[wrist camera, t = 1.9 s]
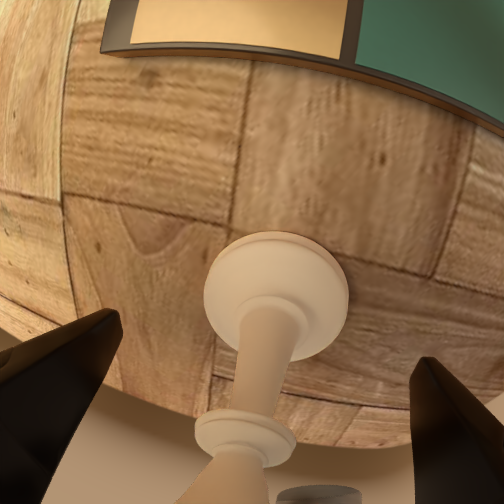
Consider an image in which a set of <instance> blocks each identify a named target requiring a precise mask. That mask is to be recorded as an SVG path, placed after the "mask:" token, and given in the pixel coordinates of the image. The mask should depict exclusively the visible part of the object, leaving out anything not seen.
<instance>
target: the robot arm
mask: <svg viewBox="0 0 504 504" xmlns="http://www.w3.org/2000/svg"><path fill="white" fill-rule="evenodd" d="M122 337H123V329H122V324H121V320H120V315H119V312H118V311H116V310H114V309H110V308H104V309H102V310H99V311H97V312H95V313H92V314H90V315H87V316H85V317H83V318H80V319H78V320H75V321H73V322H71V323H68V324H66V325H63V326H61V327H59V328H56V329H54V330H52V331H49V332H47V333H44V334H42V335H40V336H37V337H35V338H32V339H30V340H28V341H25V342H23V343H21V344H18V345H16V346H14V347H11V348H9V349H6V350H4V351H1V352H0V504H41V502H42V500H43V497H44V495H45V493H46V491H47V488H48V486H49V484H50V482H51V480H52V477H53V475H54V473H55V471H56V469H57V467H58V465H59V463H60V461H61V459H62V457H63V455H64V453H65V451H66V449H67V447H68V445H69V443H70V441H71V439H72V437H73V435H74V433H75V431H76V430H77V428H78V426H79V424H80V422H81V420H82V418H83V416H84V414H85V412H86V411H87V409H88V407H89V405H90V403H91V402H92V400H93V398H94V396H95V394H96V392H97V391H98V389H99V387H100V385H101V384H102V382H103V380H104V378H105V376H106V374H107V372H108V370H109V367H110V365H111V363H112V360H113V358H114V356H115V354H116V351H117V349H118V347H119V345H120V342H121V340H122ZM409 389H410V429H411V440H412V450H413V463H414V480H415V504H504V426H503V425H502V424H501V423H500V422H499V421H498V420H497V419H496V417H495V416H494V415H493V414H492V413H491V412H490V411H489V410H488V409H487V408H486V407H485V406H484V405H483V404H482V403H481V402H480V401H479V400H478V399H477V398H476V397H475V396H474V395H473V394H472V393H471V392H470V391H469V390H468V389H467V388H466V387H465V386H464V385H463V384H462V383H461V382H460V381H459V380H458V379H457V378H456V377H454V376H453V375H452V374H451V373H450V372H449V371H448V370H447V369H446V368H445V367H444V366H443V365H442V364H441V363H440V362H439V361H438V360H437V359H436V358H434V357H421V358H420V360H419V361H418V363H417V365H416V367H415V369H414V371H413V373H412V375H411V377H410V381H409Z"/></svg>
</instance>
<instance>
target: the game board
mask: <svg viewBox="0 0 504 504" xmlns="http://www.w3.org/2000/svg"><path fill="white" fill-rule="evenodd" d="M100 53H101V54H105V55H110V56H115V57H119V58H122V57H138V56H208V57H224V58H236V59H246V60H255V61H264V62H271V63H278V64H284V65H291V66H296V67H302V68H307V69H312V70H317V71H322V72H327V73H331V74H336V75H340V76H344V77H348V78H352V79H356V80H359V81H363V82H367V83H370V84H374V85H377V86H380V87H384V88H387V89H390V90H393V91H396V92H399V93H402V94H405V95H408V96H411V97H414V98H416V99H419V100H422V101H424V102H427V103H430V104H432V105H435V106H437V107H440V108H442V109H445V110H447V111H449V112H452V113H454V114H456V115H458V116H461V117H463V118H465V119H467V120H469V121H471V122H474V123H476V124H478V125H480V126H482V127H484V128H486V129H488V130H490V131H492V132H494V133H495V134H497V135H499V136H501V137H503V138H504V0H111V1H110V5H109V9H108V14H107V18H106V22H105V27H104V32H103V37H102V42H101V47H100Z"/></svg>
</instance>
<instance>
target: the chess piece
mask: <svg viewBox="0 0 504 504" xmlns="http://www.w3.org/2000/svg"><path fill="white" fill-rule="evenodd" d="M203 301H204V308H205V312H206V315H207V318H208V320H209V322H210V324H211V326H212V327H213V329H214V330H215V332H216V333H217V334H218V336H219V337H220V338H221V339H222V340H223V341H224V342H226V343H227V344H228V345H229V346H230V347H232V348H233V349H235V350H236V351H238V355H237V363H236V370H235V377H234V384H233V389H232V394H231V400H230V406H229V409H216V410H212V411H209V412H206V413H204V414H202V415H201V416H200V417H199V418H198V419H197V420H196V423H195V439H196V441H197V443H198V445H199V446H200V447H201V448H202V449H203V450H204V451H205V452H207V453H208V454H209V455H211V456H213V459H212V460H211V461H210V463H209V464H208V465H207V466H206V467H205V468H204V469H203V470H202V471H201V473H200V474H199V475H198V476H197V478H196V479H195V481H194V482H193V484H192V485H191V486H190V487H189V489H188V490H187V491H186V492H185V493H184V494H183V496H181V497H180V498H179V499H178V500H177V501H176V502H175V503H174V504H269V494H268V487H267V483H266V479H265V475H264V471H263V468H266V467H272V466H276V465H279V464H281V463H283V462H285V461H286V460H288V459H289V458H290V456H291V454H292V451H293V450H294V448H295V446H296V437H295V435H294V433H293V432H292V431H291V430H290V429H289V428H288V427H287V426H286V425H285V424H283V423H282V422H280V421H278V420H276V419H274V418H273V415H274V412H275V408H276V405H277V401H278V398H279V394H280V391H281V388H282V385H283V382H284V378H285V375H286V372H287V369H288V366H289V363H290V362H293V361H298V360H302V359H305V358H308V357H311V356H313V355H315V354H317V353H319V352H320V351H322V350H323V349H325V348H326V347H327V346H328V345H330V344H331V343H332V342H333V341H334V339H335V338H336V337H337V336H338V334H339V333H340V331H341V329H342V328H343V325H344V323H345V320H346V316H347V311H348V301H349V290H348V284H347V280H346V277H345V275H344V272H343V270H342V268H341V267H340V265H339V264H338V262H337V261H336V260H335V258H334V257H333V256H332V255H331V254H330V253H329V252H328V251H327V250H326V249H324V248H323V247H322V246H320V245H319V244H317V243H316V242H314V241H312V240H310V239H308V238H305V237H303V236H300V235H297V234H293V233H288V232H281V231H266V232H258V233H254V234H250V235H247V236H244V237H242V238H240V239H238V240H236V241H234V242H233V243H231V244H230V245H228V246H227V247H226V248H225V249H224V250H222V251H221V253H220V254H219V255H218V256H217V257H216V259H215V260H214V262H213V264H212V265H211V268H210V270H209V273H208V277H207V279H206V282H205V286H204V293H203Z"/></svg>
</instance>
